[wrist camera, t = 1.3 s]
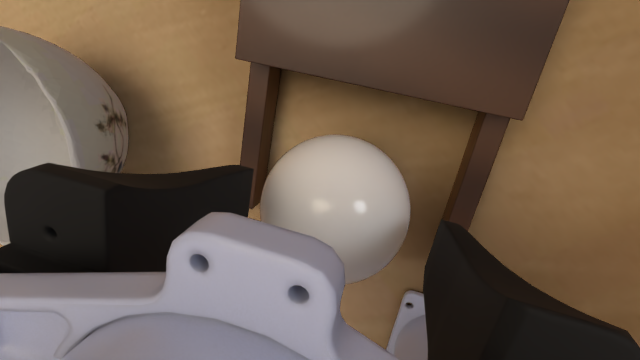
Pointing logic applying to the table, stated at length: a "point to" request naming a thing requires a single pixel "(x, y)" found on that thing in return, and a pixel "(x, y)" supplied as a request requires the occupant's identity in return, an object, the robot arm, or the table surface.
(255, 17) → the rack
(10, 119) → the teacup
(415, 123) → the table surface
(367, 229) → the lightbulb
